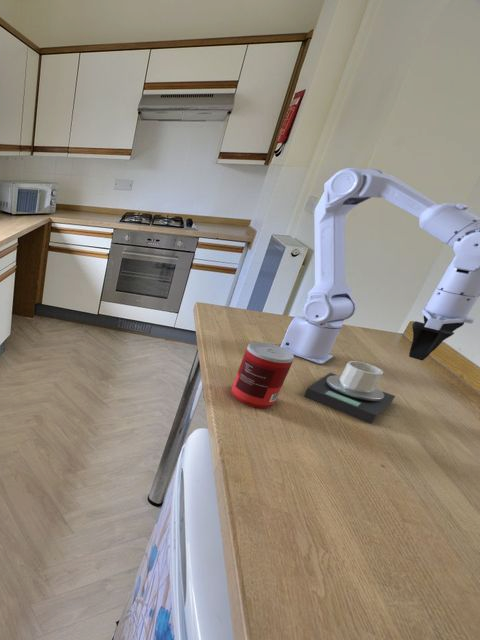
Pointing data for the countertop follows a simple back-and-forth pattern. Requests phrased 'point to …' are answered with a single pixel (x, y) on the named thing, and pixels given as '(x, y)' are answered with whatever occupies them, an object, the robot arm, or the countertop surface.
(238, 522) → the countertop surface
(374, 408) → the scale
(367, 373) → the cup
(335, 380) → the scale pan
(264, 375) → the canned food
